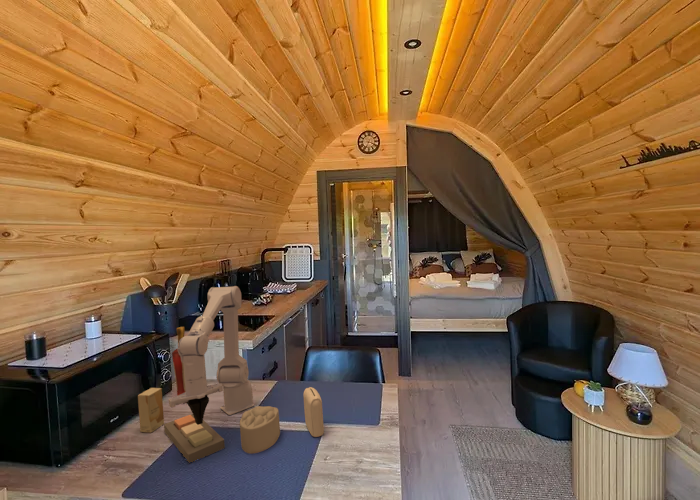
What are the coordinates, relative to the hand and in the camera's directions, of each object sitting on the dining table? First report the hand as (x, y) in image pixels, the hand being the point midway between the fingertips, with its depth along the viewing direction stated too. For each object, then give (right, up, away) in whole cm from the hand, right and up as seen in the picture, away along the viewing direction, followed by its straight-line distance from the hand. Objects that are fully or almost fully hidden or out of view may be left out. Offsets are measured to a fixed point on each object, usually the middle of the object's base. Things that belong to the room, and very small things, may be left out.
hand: (199, 422), depth 107 cm
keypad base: (-4, -8, +6) cm, 10 cm away
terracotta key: (-9, -6, +11) cm, 15 cm away
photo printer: (+33, -6, +7) cm, 34 cm away
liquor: (-19, -8, +35) cm, 41 cm away
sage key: (0, -6, 0) cm, 6 cm away
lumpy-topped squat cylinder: (+17, -7, +3) cm, 19 cm away
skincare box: (-21, -9, +15) cm, 27 cm away
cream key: (-4, -6, +6) cm, 9 cm away
